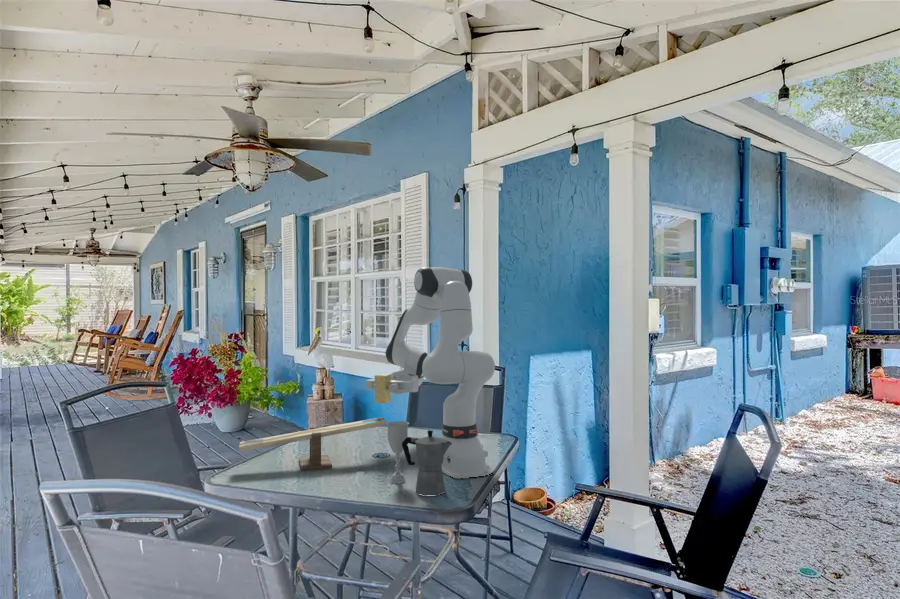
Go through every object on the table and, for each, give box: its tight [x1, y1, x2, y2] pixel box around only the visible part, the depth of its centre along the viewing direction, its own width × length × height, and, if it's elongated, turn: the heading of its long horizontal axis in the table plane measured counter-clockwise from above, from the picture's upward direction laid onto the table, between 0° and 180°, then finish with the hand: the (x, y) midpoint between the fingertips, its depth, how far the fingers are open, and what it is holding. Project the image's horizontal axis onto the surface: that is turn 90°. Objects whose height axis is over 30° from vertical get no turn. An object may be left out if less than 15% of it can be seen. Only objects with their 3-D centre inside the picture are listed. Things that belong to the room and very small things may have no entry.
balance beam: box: [238, 416, 387, 453], centre depth 187 cm, size 7×49×2 cm, turn 108°
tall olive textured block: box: [374, 373, 392, 404], centre depth 201 cm, size 4×4×10 cm
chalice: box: [385, 420, 410, 484], centre depth 168 cm, size 7×7×18 cm
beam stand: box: [298, 426, 333, 473], centre depth 187 cm, size 14×10×12 cm
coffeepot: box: [402, 429, 452, 495], centre depth 159 cm, size 15×9×18 cm, turn 75°
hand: (381, 387), depth 200 cm, fingers closed on tall olive textured block, 4 cm apart
